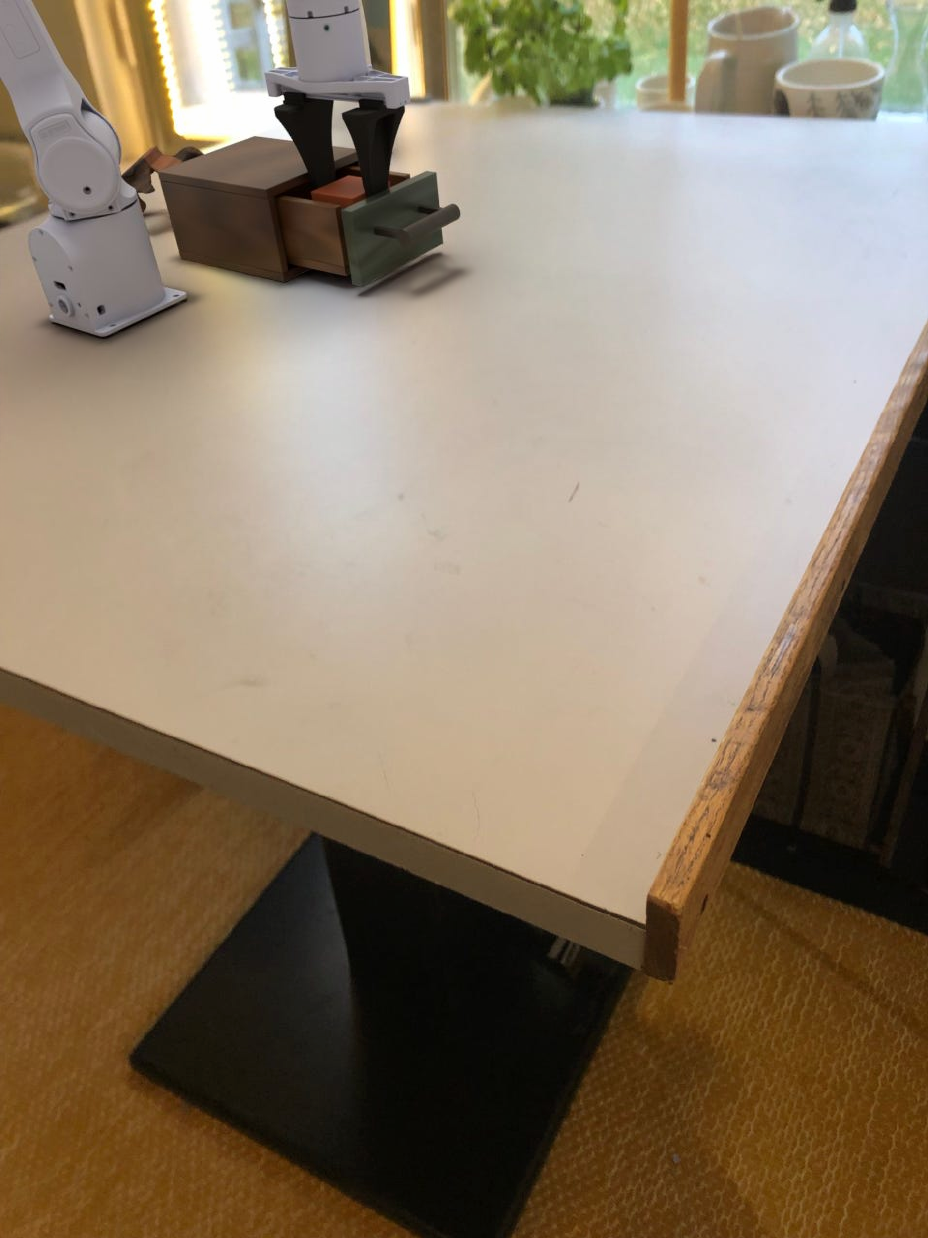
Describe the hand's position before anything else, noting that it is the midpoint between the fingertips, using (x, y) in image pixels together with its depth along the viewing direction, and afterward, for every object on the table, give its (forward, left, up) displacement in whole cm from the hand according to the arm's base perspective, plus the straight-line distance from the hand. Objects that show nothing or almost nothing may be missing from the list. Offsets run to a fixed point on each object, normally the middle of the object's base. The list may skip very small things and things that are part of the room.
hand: (350, 190), depth 86 cm
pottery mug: (+2, +29, -7) cm, 30 cm away
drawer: (0, -1, -6) cm, 6 cm away
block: (0, 0, -5) cm, 5 cm away
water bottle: (+27, +25, -7) cm, 38 cm away
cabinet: (0, +11, -7) cm, 13 cm away
